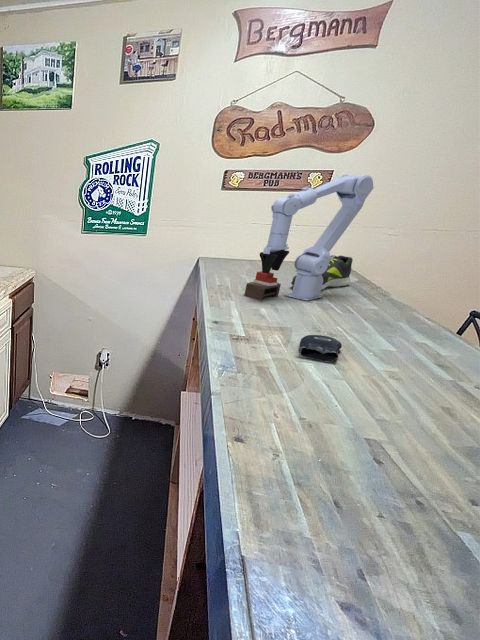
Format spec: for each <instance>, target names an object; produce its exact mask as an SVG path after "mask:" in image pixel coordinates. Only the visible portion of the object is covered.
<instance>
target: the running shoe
mask: <svg viewBox="0 0 480 640" xmlns="http://www.w3.org/2000/svg"><path fill="white" fill-rule="evenodd" d="M331 258H332V259H331V261H330V262H329V264H328V267H327V269H326V271H325V272H324V273H323V274H322V277H323V284H322V287H321V291H324V290H325V289H326V288H327V287H329V288H338V287H346V286H348V285H349V284H350V281H351V277H350V276H351V272H352V264H353V257H351V256H345V255H334V254H333V255H332V254H331ZM295 279H296V275H294V276H293V277H292V280H291V282H290V283H291V286H294V283H295Z"/></svg>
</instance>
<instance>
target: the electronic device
mask: <svg viewBox="0 0 480 640" xmlns="http://www.w3.org/2000/svg"><path fill="white" fill-rule="evenodd" d="M342 346H343V345H342V343H341V342H340V340H338V339H336V338H334V337H332V336H329V335H322V334H308V335H304V336H303V337H302V338H301V339H300V341H299V348H297V351H298V355H299V358H304V359H310V360H316V361H320V362H324V363H332V362H334V361H335V360H338V359H339V353H340V350H341V349H342Z"/></svg>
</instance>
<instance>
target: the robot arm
mask: <svg viewBox="0 0 480 640" xmlns="http://www.w3.org/2000/svg"><path fill="white" fill-rule="evenodd" d="M373 190H374V180H373V177H372V176H370V175H350V174H349V175H348V174H342V175H341V176H337V177H335V178H334V179H332V180H330V181H329V182H326V183H324V184H322V185H320V186H318V187H315V188H311V187H303V188H301V190H300V191H298V192H294V193H290V194H288V196H282V197H278V198H277V199H276V200H275V201H274V202H273V203H272V205H271V207H270V211H271V213H272V221H271V225H270V231H269V235H268V240H267V244H266V245H265V247H264V248H263V251H261V252H259V257H260V262H261V271H262V273H267V274H269V272H270V273H271V271H275V272H278V271H280V268H281V266H282V264H283V262H284V260H285V259H286V258H287V256H288V255H289V254H290V250H289V249H290V247H289V246H288V244H287V241H288V237H289V232H290V229H291V226H292V225H291V224H292V220H293V216H295V215H296V214H297V213H298V211H299V210H301V209H305V208H306V207H309V206H312V205H314V204H315V203H316V202H317V200H318V199H320V198H322V197H325V196H328V195H331V194H334V193H336V195H337V197H338V200H339V202H340V203H341V207H340V209H339V210H338V211H337V213H336V214H335V215H334V217H333V218H332V220H330V222H329V224H328V225H327V226H326V228H325V229H324V230H323V232H322V234H321V235H320V236H319V238H318V239H317V240H316V242H315V243H314V244H313V245H312V246H310V247H307V248H306V249H304V251H302V253H301V254H299V255H298V256H296V258H295V260H294V263H293V264H294V265H293V266H294V268H295V272H296V275H295V276H296V279H295V283H294V285H293V287H292V291H291V293H288V294H286V295H285V296H286V297H290V298H294V299H296V300H297V299H298V300H302V301H307V302H308V301H312V300H316V299H321V298H322V296H321V295H320V294H321V291H322V290H321V287H322V284H323V277H322V274H323V273H324V272H325V271H326V269H327V267H328V264H329V262H330V261H331V259H332V258H331V256H332V254H330V252H331V250H332V249H333V248H334V246H335V245H336V244H337V242H338V241H339V240H340V238H341V237H342V235H343V234H344V233H345V231H346V230H347V229H348V227H349V226H350V224H351V223H352V222H353V220H354V219H355V218H356V216H357V215H358V214H359V212H361V210H362V208H363V207H364V204H365V201H366V199H367V198H368V197H369V195H370V194H371V193H372V191H373Z"/></svg>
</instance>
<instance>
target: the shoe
mask: <svg viewBox="0 0 480 640" xmlns="http://www.w3.org/2000/svg"><path fill="white" fill-rule="evenodd" d="M274 274H275V273H274V272H271V271H270V272H269V274H267V273H262V270H261V271H256V274H255V279H253V281H252V282H255V283H259V284H263V285H267V286H274V285H277V283H278V279H279V278H278V277H274Z"/></svg>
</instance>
